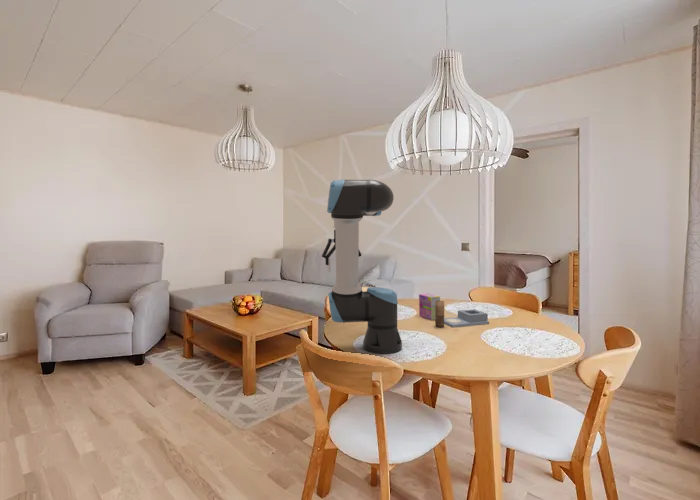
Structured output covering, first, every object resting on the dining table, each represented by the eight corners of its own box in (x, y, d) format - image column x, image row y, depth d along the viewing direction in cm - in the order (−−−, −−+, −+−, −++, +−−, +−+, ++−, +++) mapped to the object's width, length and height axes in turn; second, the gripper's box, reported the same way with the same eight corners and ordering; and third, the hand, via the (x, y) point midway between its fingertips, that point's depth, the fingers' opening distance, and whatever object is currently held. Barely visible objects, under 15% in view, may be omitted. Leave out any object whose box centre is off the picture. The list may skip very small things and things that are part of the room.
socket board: (488, 323, 168) (489, 314, 168) (452, 327, 163) (452, 317, 162) (473, 317, 180) (473, 308, 179) (439, 321, 174) (439, 311, 174)
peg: (445, 327, 163) (445, 302, 162) (438, 328, 162) (438, 302, 161) (441, 325, 167) (441, 300, 166) (433, 326, 165) (433, 301, 165)
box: (418, 315, 185) (418, 293, 184) (427, 314, 187) (427, 292, 187) (431, 320, 176) (431, 297, 175) (440, 319, 178) (440, 296, 177)
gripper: (362, 228, 182) (362, 269, 183) (315, 229, 174) (316, 271, 175) (367, 228, 175) (367, 270, 176) (318, 228, 167) (319, 272, 168)
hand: (342, 271), depth 175 cm, fingers open, 13 cm apart
